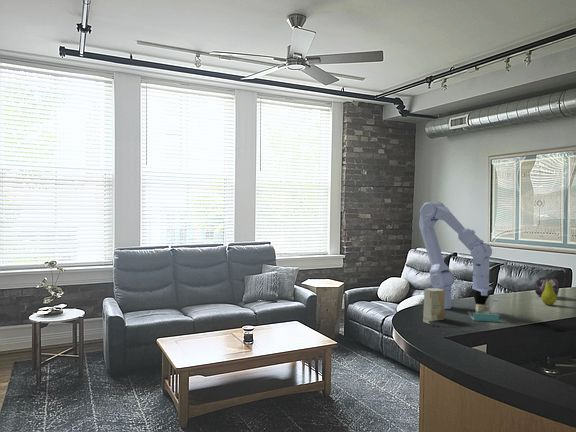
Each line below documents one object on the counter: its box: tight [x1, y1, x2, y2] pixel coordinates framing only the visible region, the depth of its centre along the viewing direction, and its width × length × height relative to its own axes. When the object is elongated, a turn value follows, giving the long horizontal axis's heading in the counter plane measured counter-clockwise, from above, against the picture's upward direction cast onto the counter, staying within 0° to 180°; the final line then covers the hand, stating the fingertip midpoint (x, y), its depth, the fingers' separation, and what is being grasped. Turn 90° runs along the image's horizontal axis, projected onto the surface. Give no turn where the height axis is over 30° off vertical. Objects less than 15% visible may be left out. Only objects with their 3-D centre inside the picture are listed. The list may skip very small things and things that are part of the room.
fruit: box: [540, 276, 558, 306], centre depth 200 cm, size 6×6×12 cm
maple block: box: [474, 303, 490, 314], centre depth 172 cm, size 4×4×4 cm
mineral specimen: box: [534, 276, 560, 297], centre depth 218 cm, size 10×10×10 cm
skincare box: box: [422, 287, 445, 325], centre depth 167 cm, size 6×4×12 cm
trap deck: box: [466, 311, 500, 323], centre depth 171 cm, size 14×8×4 cm, turn 168°
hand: (480, 311), depth 176 cm, fingers closed
